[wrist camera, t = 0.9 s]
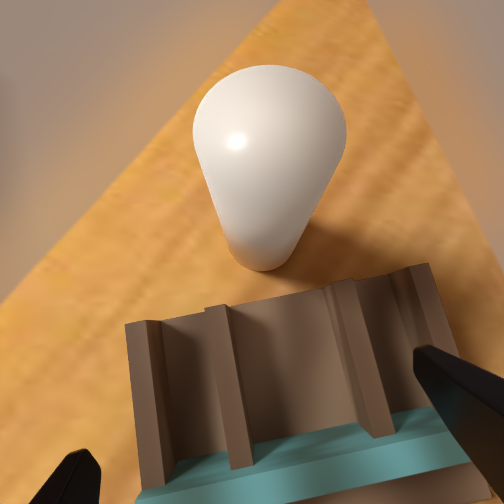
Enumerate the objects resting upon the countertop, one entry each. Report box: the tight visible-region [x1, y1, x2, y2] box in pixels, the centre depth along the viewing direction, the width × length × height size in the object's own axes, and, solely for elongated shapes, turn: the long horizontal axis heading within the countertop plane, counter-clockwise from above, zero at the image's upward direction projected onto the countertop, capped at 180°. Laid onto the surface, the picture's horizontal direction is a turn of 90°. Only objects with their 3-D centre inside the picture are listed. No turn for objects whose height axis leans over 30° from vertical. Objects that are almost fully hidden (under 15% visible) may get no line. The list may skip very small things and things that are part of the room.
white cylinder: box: [193, 65, 346, 271], centre depth 17 cm, size 5×5×13 cm
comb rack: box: [125, 263, 492, 504], centre depth 18 cm, size 20×14×5 cm
